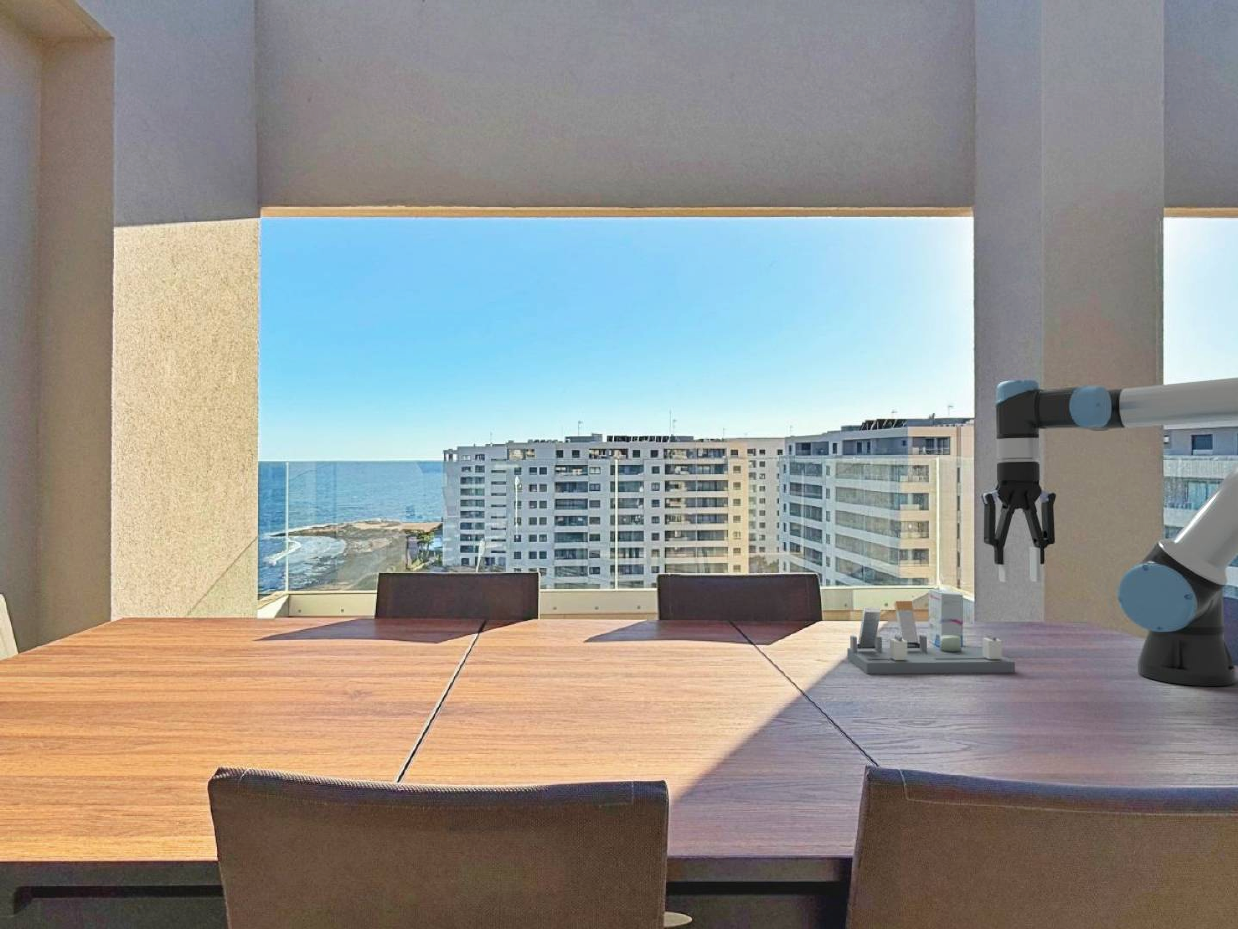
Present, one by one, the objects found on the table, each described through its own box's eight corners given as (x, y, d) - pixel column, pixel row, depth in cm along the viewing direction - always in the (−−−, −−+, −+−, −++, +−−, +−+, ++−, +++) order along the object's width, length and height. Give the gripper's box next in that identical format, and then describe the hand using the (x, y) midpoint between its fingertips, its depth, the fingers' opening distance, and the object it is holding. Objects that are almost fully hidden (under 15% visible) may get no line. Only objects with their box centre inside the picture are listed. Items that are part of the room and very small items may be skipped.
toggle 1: (873, 645, 177) (879, 607, 172) (875, 650, 175) (881, 612, 171) (856, 645, 177) (862, 607, 172) (858, 650, 175) (864, 612, 171)
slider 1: (902, 656, 169) (902, 635, 169) (907, 660, 166) (907, 638, 166) (889, 656, 169) (889, 635, 169) (894, 660, 166) (894, 638, 166)
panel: (984, 656, 179) (983, 632, 179) (1015, 672, 165) (1014, 645, 165) (847, 658, 179) (847, 633, 179) (866, 673, 165) (866, 647, 165)
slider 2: (995, 655, 169) (994, 634, 169) (1001, 659, 166) (1001, 637, 166) (982, 656, 169) (982, 634, 169) (989, 659, 166) (988, 637, 166)
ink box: (964, 648, 187) (963, 593, 188) (941, 648, 188) (940, 593, 188) (950, 641, 196) (949, 588, 196) (927, 641, 196) (927, 588, 196)
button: (956, 647, 178) (956, 635, 178) (964, 651, 174) (964, 638, 174) (937, 647, 178) (936, 635, 178) (944, 651, 174) (944, 639, 174)
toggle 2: (918, 649, 176) (910, 603, 181) (920, 647, 175) (911, 601, 180) (901, 649, 176) (893, 603, 181) (903, 647, 175) (895, 601, 180)
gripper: (1055, 460, 172) (1057, 578, 172) (962, 461, 172) (964, 579, 172) (1075, 460, 164) (1077, 583, 164) (978, 461, 164) (980, 584, 164)
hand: (1019, 581), depth 168 cm, fingers open, 5 cm apart
